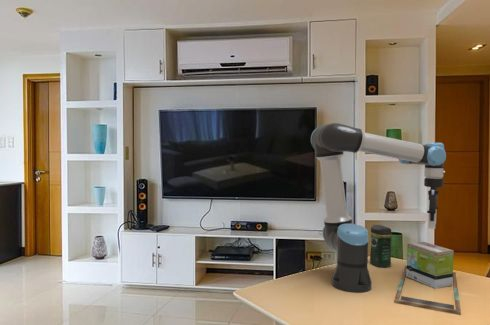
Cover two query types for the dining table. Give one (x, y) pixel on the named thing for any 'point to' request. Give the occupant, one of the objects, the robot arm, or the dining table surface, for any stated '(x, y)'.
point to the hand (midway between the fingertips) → (432, 225)
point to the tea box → (430, 264)
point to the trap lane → (426, 303)
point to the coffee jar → (380, 246)
